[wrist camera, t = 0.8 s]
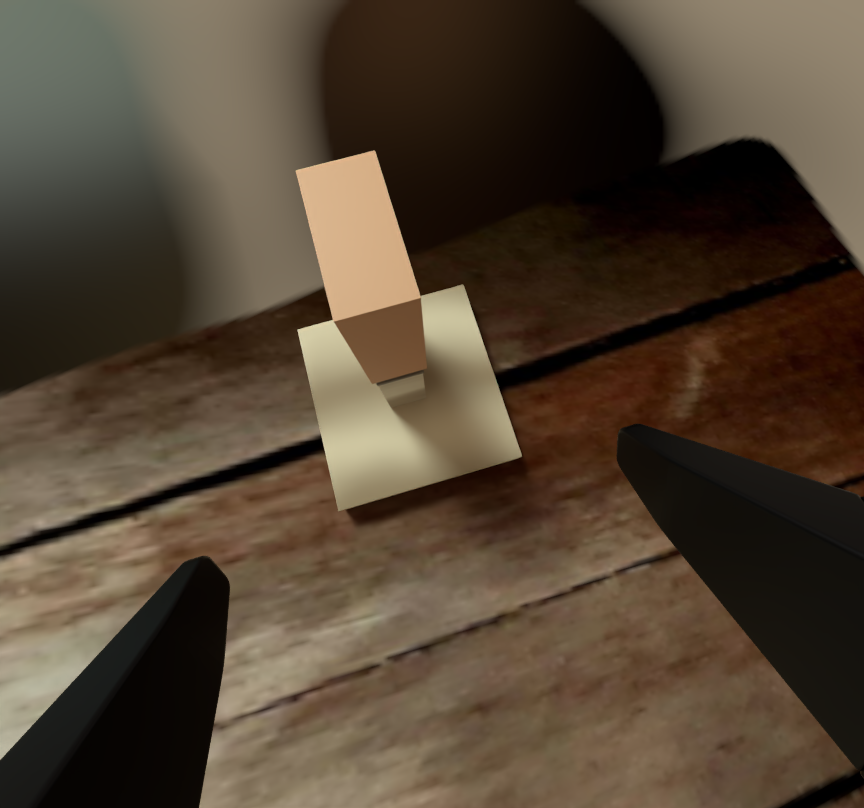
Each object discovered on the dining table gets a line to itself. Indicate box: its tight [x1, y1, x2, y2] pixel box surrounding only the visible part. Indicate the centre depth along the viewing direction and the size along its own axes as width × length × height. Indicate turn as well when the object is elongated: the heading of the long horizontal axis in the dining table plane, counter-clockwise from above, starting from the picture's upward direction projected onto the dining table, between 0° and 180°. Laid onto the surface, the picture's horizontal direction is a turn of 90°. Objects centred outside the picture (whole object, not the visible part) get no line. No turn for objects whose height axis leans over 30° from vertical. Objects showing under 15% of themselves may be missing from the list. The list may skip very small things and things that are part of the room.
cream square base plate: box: [298, 285, 522, 511], centre depth 19 cm, size 10×10×6 cm
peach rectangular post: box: [296, 151, 427, 384], centre depth 14 cm, size 5×2×6 cm, turn 16°
